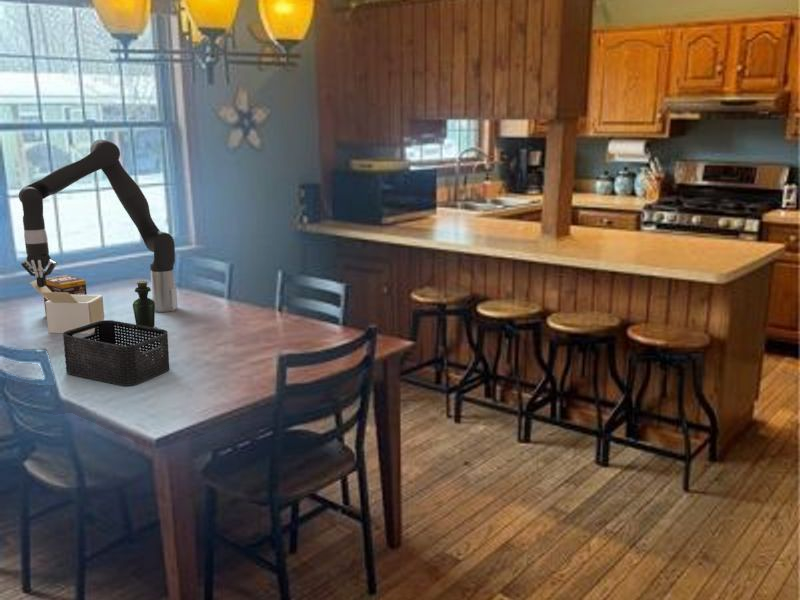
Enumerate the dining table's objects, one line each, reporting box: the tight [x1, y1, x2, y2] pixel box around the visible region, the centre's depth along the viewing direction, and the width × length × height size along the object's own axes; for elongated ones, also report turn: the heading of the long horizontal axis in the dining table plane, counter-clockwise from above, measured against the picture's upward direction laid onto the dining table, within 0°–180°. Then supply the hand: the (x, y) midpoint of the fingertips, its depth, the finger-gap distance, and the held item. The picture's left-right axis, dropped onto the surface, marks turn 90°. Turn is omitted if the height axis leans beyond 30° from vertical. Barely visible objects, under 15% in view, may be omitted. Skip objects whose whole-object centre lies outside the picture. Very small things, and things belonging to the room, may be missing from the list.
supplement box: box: [43, 274, 88, 317], centre depth 288 cm, size 10×15×16 cm
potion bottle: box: [132, 280, 156, 328], centre depth 274 cm, size 8×8×18 cm
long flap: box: [41, 292, 78, 303], centre depth 260 cm, size 10×9×1 cm
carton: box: [44, 294, 105, 335], centre depth 272 cm, size 17×13×12 cm
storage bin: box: [62, 319, 171, 387], centre depth 227 cm, size 29×19×13 cm
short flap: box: [29, 279, 52, 300], centre depth 270 cm, size 9×6×1 cm
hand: (42, 286), depth 269 cm, fingers closed
